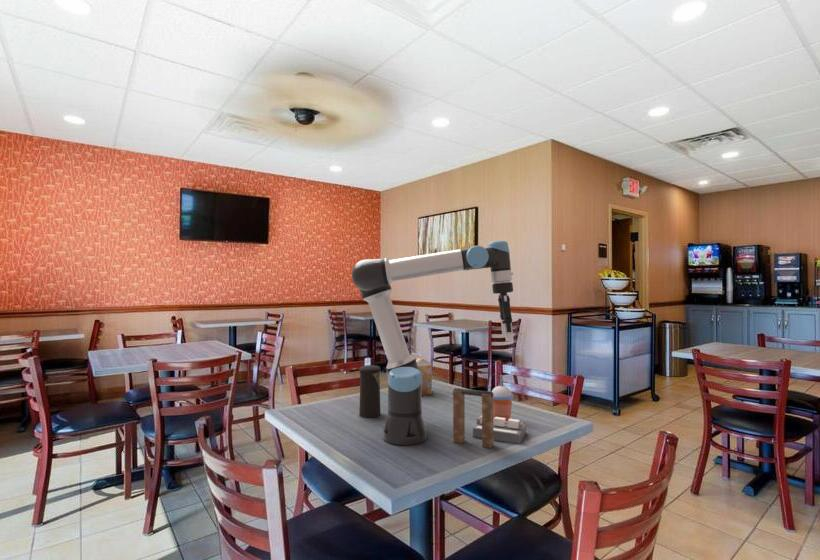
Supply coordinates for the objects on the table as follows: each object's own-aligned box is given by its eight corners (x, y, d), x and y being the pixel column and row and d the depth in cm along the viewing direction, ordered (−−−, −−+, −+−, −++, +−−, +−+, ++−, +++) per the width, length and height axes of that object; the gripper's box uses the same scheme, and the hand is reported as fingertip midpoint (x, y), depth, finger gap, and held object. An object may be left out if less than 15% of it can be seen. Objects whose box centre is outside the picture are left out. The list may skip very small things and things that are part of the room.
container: (383, 416, 174) (383, 366, 175) (361, 419, 171) (361, 368, 171) (377, 410, 182) (377, 363, 183) (356, 413, 179) (356, 364, 179)
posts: (453, 442, 146) (452, 390, 146) (456, 438, 149) (456, 388, 149) (490, 448, 140) (490, 394, 140) (493, 444, 143) (493, 392, 143)
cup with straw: (496, 426, 162) (496, 378, 162) (485, 419, 170) (485, 373, 171) (518, 424, 164) (517, 376, 164) (506, 417, 173) (506, 372, 173)
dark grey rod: (452, 393, 147) (452, 388, 147) (454, 392, 148) (454, 387, 148) (492, 398, 141) (492, 392, 141) (494, 396, 142) (494, 391, 142)
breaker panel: (472, 436, 151) (472, 422, 151) (482, 426, 161) (482, 413, 161) (519, 443, 144) (519, 428, 144) (526, 432, 154) (526, 418, 154)
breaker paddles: (480, 423, 154) (480, 416, 154) (481, 421, 157) (481, 414, 157) (518, 428, 149) (518, 421, 149) (519, 426, 151) (519, 419, 151)
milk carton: (431, 393, 212) (431, 354, 212) (413, 396, 207) (413, 356, 207) (420, 389, 221) (420, 351, 221) (402, 391, 216) (402, 353, 216)
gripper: (516, 281, 149) (522, 342, 149) (508, 281, 174) (514, 334, 174) (494, 283, 150) (500, 344, 150) (490, 283, 175) (495, 335, 175)
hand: (507, 338), depth 162 cm, fingers open, 13 cm apart
